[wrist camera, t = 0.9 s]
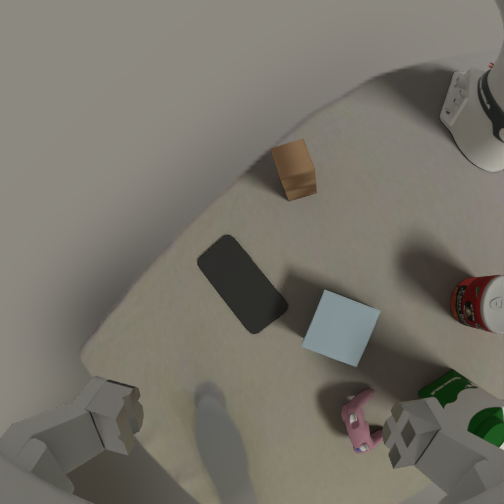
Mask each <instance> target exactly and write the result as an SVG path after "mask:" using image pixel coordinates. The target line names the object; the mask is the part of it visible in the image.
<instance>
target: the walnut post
mask: <svg viewBox="0 0 504 504" xmlns="http://www.w3.org/2000/svg"><path fill="white" fill-rule="evenodd" d="M270 150H271V153H272V156H273V159H274V162H275V165H276V168H277V171H278V174H279V177H280V180H281V182H282V185H283V187H284V190H285V192H286V195H287V197H288V200H289V201H292V200H295V199H299V198H302V197H305V196H309V195H312V194H315V193H317V191H316V178H315V168H314V165H313V163H312V160H311V157H310V155H309V152H308V149H307V147H306V144H305V142H304V139H301V140H297V141H294V142H291V143H287V144H284V145H281V146H278V147H274V148H271V149H270Z"/></svg>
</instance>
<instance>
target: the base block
mask: <svg viewBox="0 0 504 504" xmlns="http://www.w3.org/2000/svg"><path fill="white" fill-rule="evenodd" d="M379 314H380V311H379V310H377V309H375V308H372V307H370V306H367V305H364V304H362V303H359V302H357V301H354V300H351V299H349V298H346V297H344V296H341V295H338V294H336V293H333V292H331V291H328V290H325V289H324V291H323V294H322V296H321V299H320V301H319V304H318V306H317V309H316V311H315V313H314V316H313V318H312V321H311V323H310V325H309V328H308V330H307V332H306V335H305V337H304V340H303V343H302V347H304V348H307V349H309V350H312V351H314V352H317V353H320V354H322V355H325V356H327V357H330V358H333V359H335V360H338V361H341V362H344V363H346V364H349V365H352V366H355V367H357V365H358V363H359V361H360V358H361V356H362V354H363V352H364V350H365V347H366V345H367V343H368V340H369V338H370V336H371V333H372V331H373V329H374V326H375V324H376V321H377V319H378V316H379Z"/></svg>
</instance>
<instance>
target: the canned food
mask: <svg viewBox="0 0 504 504" xmlns="http://www.w3.org/2000/svg"><path fill="white" fill-rule="evenodd" d="M451 309H452V312H453V315H454V316H455V318H456V319H457V320H458V322H460V323H461V324H463V325H466V326H470V327H473V328H477V329H481V330H484V331H488V332H492V333H504V275H494V276H484V277H474V278H468V279H465V280H463V281H462V282H461V283H460V284H459V285H458V286H457V287H456V288H455V290H454V292H453V295H452V298H451Z"/></svg>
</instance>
